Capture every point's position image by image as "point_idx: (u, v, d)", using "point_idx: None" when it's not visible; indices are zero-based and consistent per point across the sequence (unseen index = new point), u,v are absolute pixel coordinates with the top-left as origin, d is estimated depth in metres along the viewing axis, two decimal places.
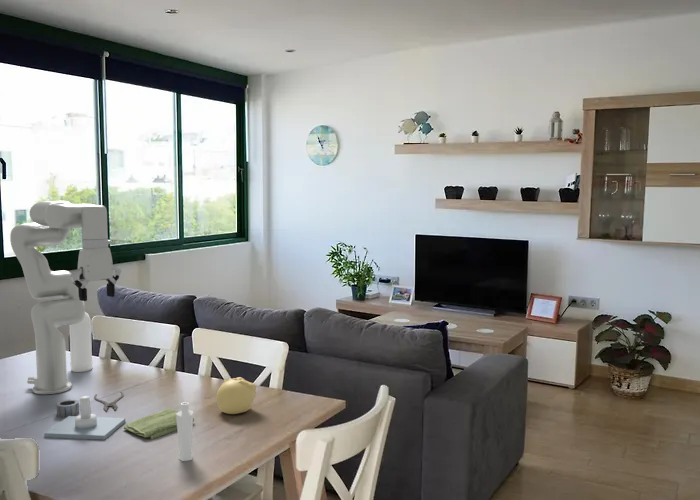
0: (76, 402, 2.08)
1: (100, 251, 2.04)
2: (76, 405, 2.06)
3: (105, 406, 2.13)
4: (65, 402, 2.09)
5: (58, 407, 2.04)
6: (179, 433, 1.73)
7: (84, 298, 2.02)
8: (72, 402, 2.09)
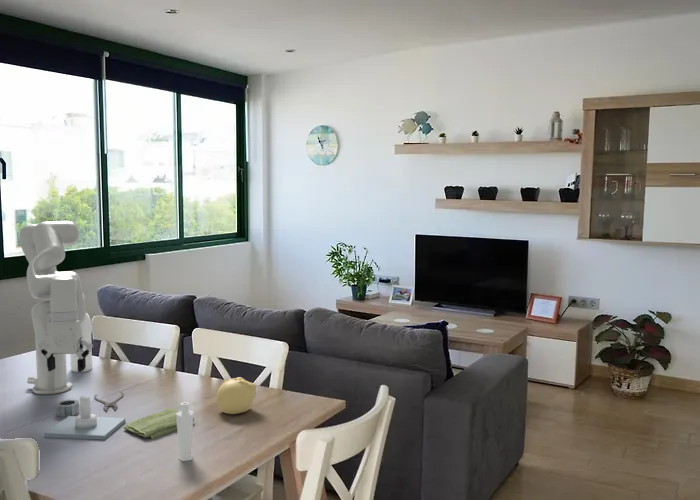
0: (76, 402, 2.08)
1: None
2: (76, 405, 2.06)
3: (105, 406, 2.13)
4: (65, 402, 2.09)
5: (58, 407, 2.04)
6: (179, 433, 1.73)
7: None
8: (72, 402, 2.09)
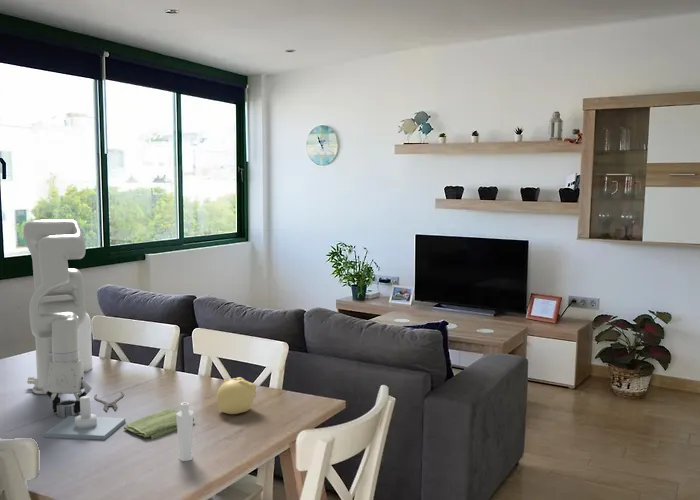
0: None
1: None
2: None
3: (105, 406, 2.13)
4: (65, 402, 2.09)
5: (58, 407, 2.04)
6: (179, 433, 1.73)
7: None
8: (72, 402, 2.09)
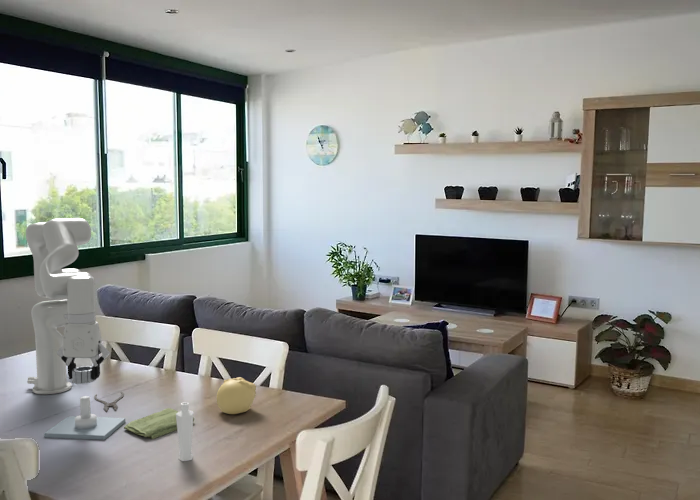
0: None
1: None
2: None
3: (105, 406, 2.13)
4: (81, 368, 1.94)
5: (74, 373, 1.90)
6: (179, 433, 1.73)
7: None
8: (88, 368, 1.95)
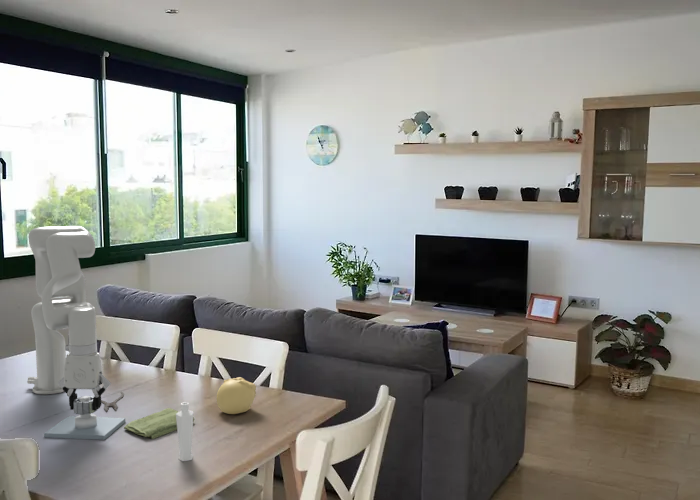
0: None
1: None
2: None
3: (105, 406, 2.13)
4: None
5: (75, 404, 1.91)
6: (179, 433, 1.73)
7: None
8: (90, 398, 1.96)
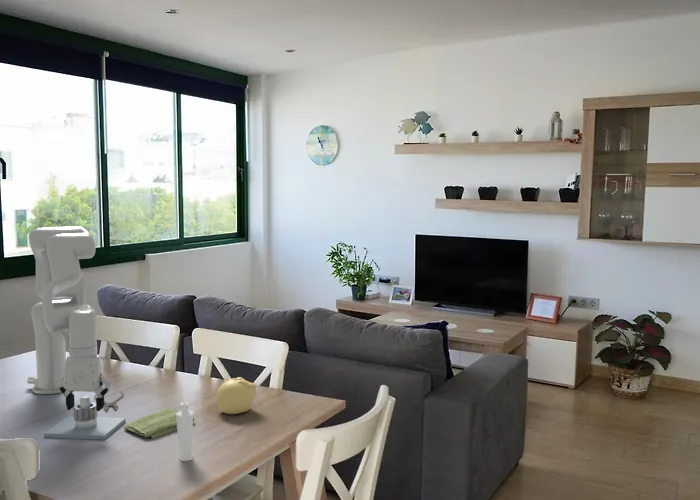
0: (94, 405, 1.94)
1: None
2: (94, 408, 1.93)
3: (105, 406, 2.13)
4: None
5: (75, 410, 1.91)
6: (179, 433, 1.73)
7: None
8: (90, 405, 1.96)
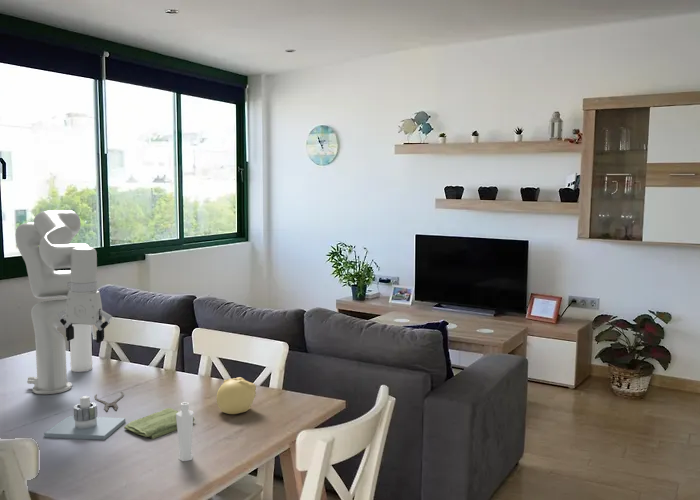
0: (94, 405, 1.94)
1: None
2: (94, 408, 1.93)
3: (105, 406, 2.13)
4: None
5: (75, 410, 1.91)
6: (179, 433, 1.73)
7: None
8: (90, 405, 1.96)
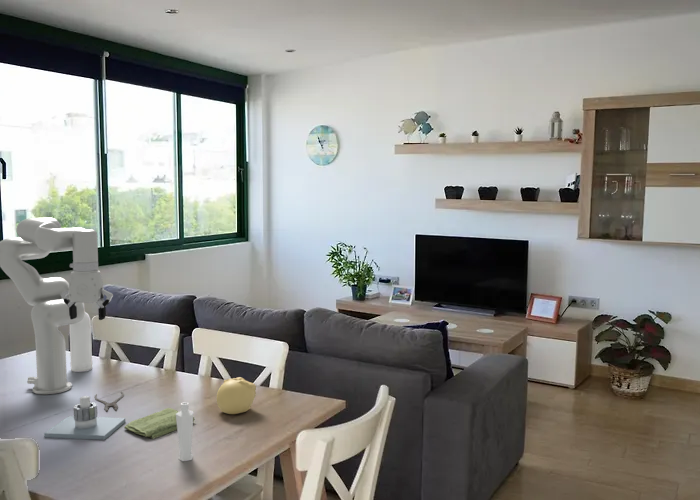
0: (94, 405, 1.94)
1: None
2: (94, 408, 1.93)
3: (106, 406, 2.13)
4: None
5: (75, 410, 1.91)
6: (179, 433, 1.73)
7: None
8: (90, 405, 1.96)
